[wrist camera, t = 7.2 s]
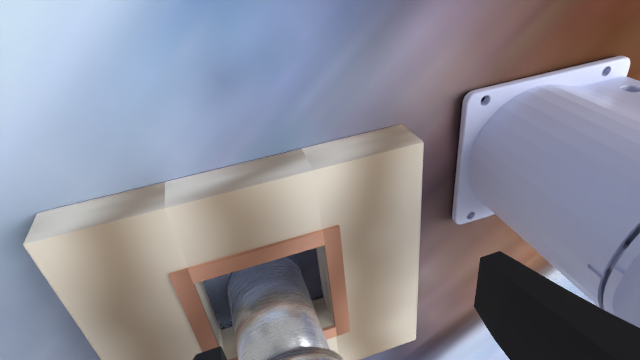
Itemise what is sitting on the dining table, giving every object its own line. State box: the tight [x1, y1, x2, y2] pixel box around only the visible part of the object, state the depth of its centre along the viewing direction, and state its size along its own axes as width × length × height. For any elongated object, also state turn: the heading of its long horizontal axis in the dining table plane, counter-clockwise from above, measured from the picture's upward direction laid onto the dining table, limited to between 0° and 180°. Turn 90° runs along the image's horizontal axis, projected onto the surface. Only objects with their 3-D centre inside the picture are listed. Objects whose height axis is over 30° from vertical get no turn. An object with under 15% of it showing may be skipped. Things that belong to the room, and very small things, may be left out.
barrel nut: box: [227, 257, 343, 360], centre depth 19 cm, size 5×5×7 cm
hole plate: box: [23, 124, 424, 360], centre depth 21 cm, size 16×14×2 cm
